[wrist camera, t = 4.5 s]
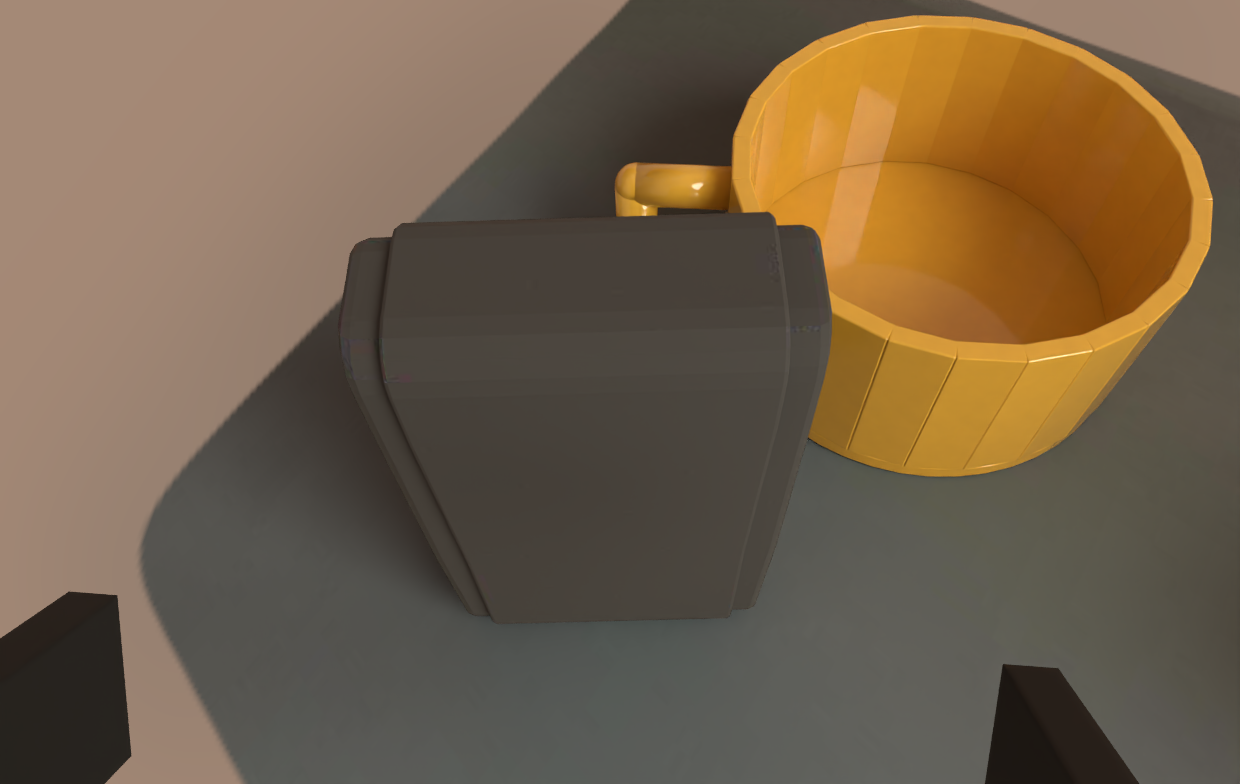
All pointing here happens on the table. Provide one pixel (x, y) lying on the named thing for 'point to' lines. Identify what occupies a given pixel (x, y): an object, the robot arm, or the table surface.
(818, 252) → the card reader
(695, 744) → the table surface
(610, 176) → the table surface
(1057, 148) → the mug
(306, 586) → the table surface
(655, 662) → the table surface
